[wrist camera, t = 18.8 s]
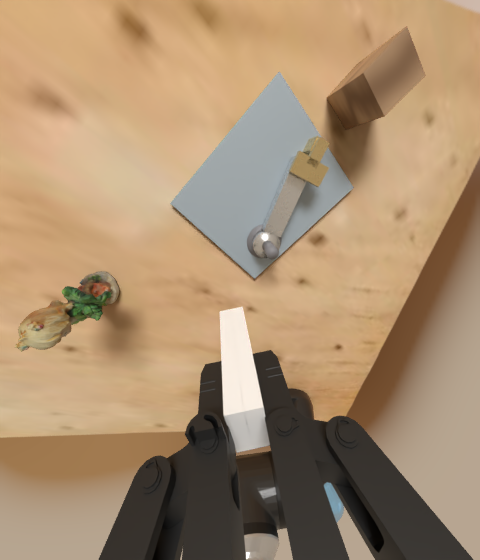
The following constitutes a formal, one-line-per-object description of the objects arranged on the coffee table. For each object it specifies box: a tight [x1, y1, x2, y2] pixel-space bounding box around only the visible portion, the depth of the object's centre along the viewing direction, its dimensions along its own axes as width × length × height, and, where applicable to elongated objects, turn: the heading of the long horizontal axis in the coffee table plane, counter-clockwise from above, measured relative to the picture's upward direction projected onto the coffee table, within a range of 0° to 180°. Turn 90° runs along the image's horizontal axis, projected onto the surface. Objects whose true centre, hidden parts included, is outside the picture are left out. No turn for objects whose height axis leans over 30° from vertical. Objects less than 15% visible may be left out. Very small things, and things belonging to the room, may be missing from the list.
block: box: [327, 26, 425, 130], centre depth 26 cm, size 5×5×8 cm
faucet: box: [252, 156, 307, 258], centre depth 33 cm, size 15×4×2 cm, turn 159°
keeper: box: [289, 136, 330, 187], centre depth 30 cm, size 5×5×4 cm
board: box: [170, 72, 354, 279], centre depth 31 cm, size 19×22×7 cm
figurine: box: [15, 272, 119, 352], centre depth 31 cm, size 9×8×15 cm
